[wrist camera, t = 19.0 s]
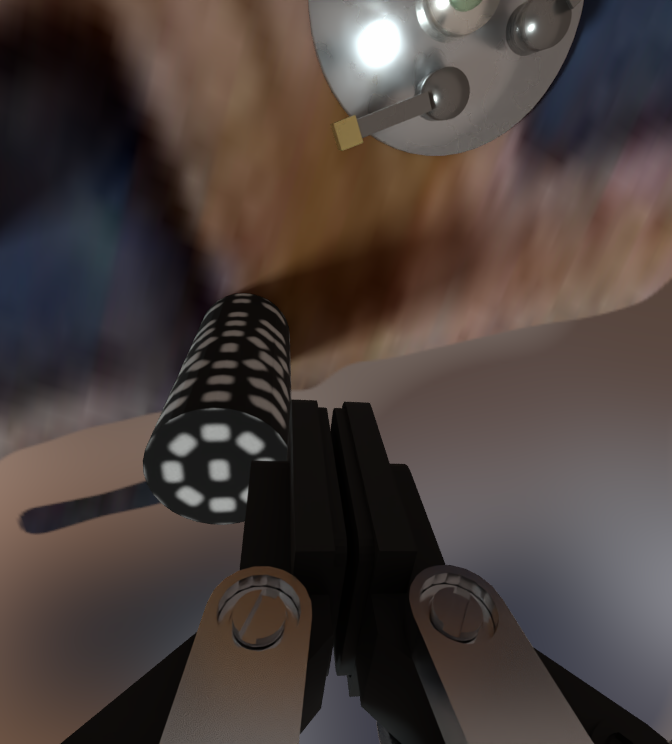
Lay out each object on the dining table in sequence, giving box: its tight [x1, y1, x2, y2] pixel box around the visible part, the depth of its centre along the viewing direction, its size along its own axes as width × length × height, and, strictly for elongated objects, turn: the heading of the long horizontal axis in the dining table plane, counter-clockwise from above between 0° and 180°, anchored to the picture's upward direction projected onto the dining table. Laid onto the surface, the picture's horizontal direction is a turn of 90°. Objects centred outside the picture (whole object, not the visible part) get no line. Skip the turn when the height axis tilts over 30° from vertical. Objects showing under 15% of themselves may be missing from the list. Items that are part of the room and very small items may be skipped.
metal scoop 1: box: [330, 67, 470, 151], centre depth 33 cm, size 10×3×4 cm, turn 109°
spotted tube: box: [143, 293, 291, 524], centre depth 35 cm, size 8×8×20 cm
